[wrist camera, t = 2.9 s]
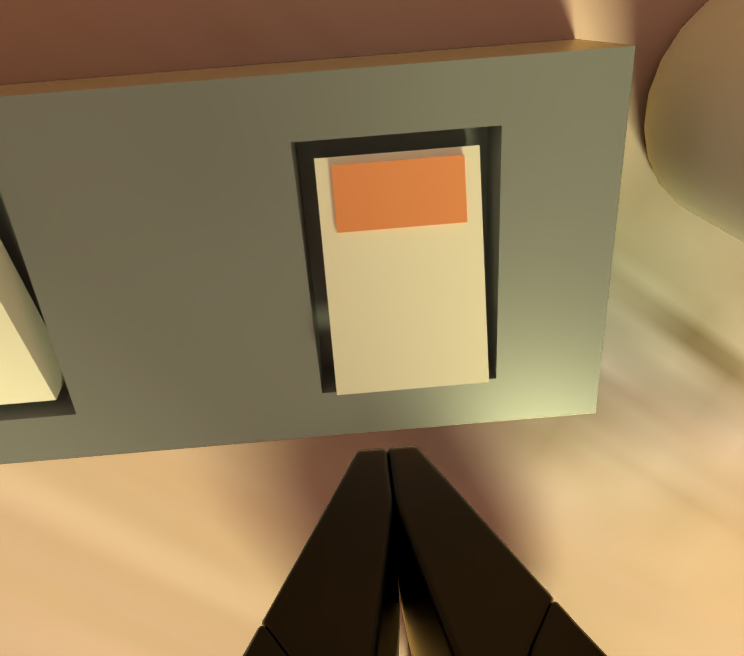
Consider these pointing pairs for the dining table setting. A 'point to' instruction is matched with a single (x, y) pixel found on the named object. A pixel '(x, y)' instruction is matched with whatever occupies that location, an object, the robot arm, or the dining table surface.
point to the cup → (702, 116)
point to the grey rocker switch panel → (297, 239)
